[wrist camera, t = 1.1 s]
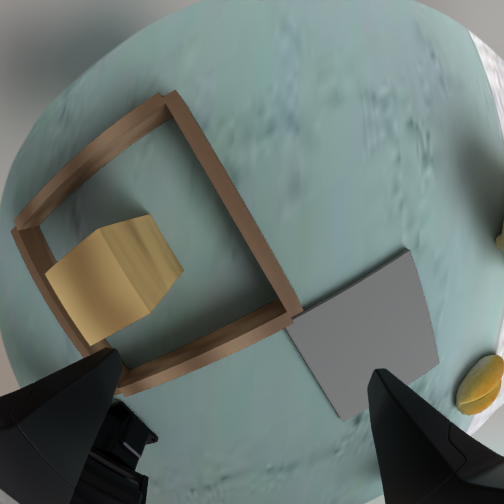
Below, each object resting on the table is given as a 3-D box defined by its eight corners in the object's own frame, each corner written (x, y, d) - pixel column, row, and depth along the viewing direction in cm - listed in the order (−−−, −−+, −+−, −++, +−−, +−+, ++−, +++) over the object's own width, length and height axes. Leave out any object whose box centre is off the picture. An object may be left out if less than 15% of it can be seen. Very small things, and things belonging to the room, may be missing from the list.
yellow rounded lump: (498, 341, 24) (516, 354, 20) (491, 385, 26) (505, 399, 22) (454, 374, 25) (471, 391, 21) (450, 415, 26) (463, 432, 22)
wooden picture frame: (128, 380, 23) (118, 399, 21) (29, 222, 20) (8, 227, 17) (299, 300, 22) (306, 316, 19) (182, 97, 18) (172, 84, 15)
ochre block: (135, 298, 22) (90, 346, 14) (104, 246, 21) (44, 273, 13) (184, 270, 21) (150, 313, 13) (150, 213, 20) (98, 228, 12)
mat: (341, 418, 25) (342, 421, 24) (282, 322, 22) (283, 324, 22) (437, 360, 24) (439, 363, 23) (407, 248, 21) (410, 250, 21)
